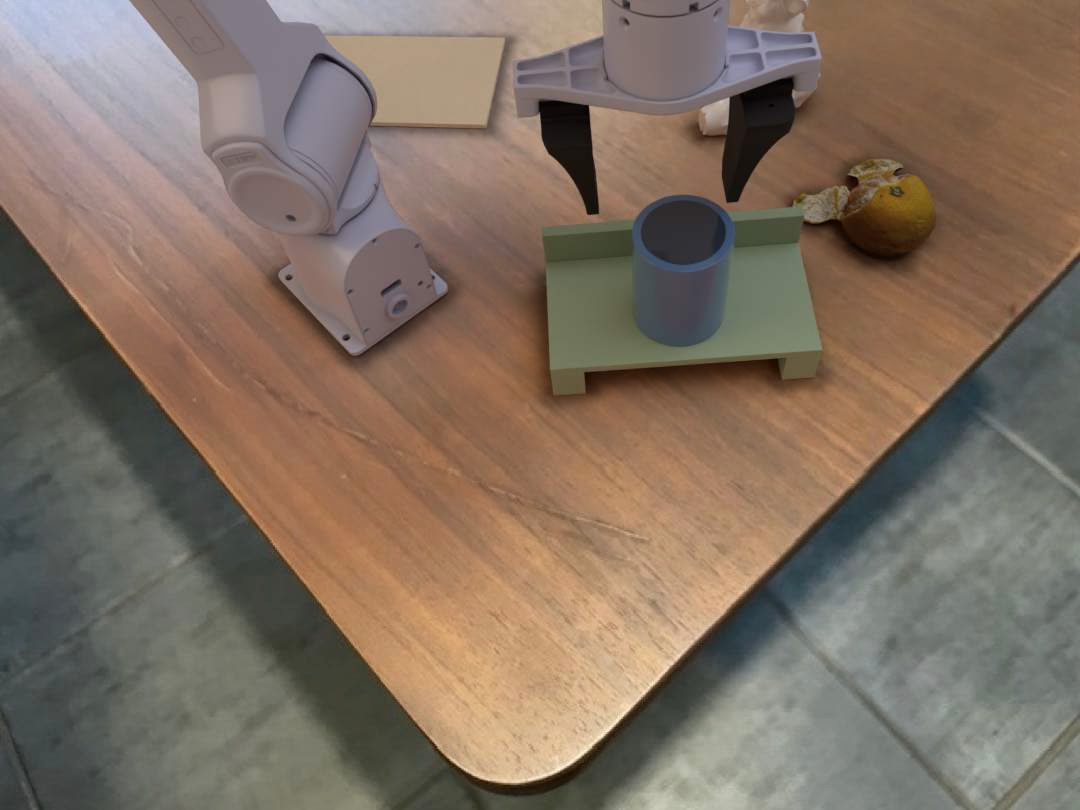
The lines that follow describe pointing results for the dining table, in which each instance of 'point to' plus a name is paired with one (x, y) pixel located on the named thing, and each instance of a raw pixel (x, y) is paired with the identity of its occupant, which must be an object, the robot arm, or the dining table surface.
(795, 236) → the shelf
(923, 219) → the fruit
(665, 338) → the cup
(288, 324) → the dining table surface
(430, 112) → the mat
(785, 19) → the seated beast figurine
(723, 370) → the dining table surface
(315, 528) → the dining table surface
